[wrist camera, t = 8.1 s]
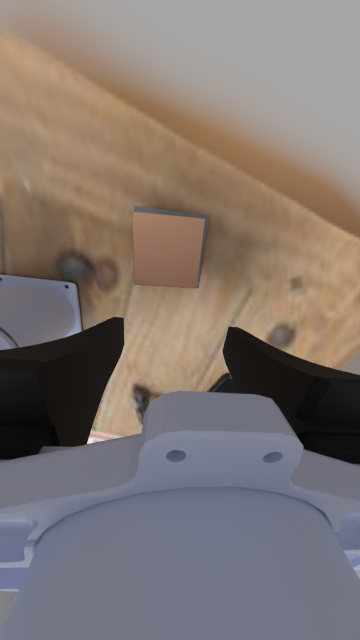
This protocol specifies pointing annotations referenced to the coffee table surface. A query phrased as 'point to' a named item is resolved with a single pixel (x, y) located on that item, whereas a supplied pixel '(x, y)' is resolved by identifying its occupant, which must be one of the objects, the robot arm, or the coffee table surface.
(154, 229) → the terracotta block
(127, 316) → the coffee table surface
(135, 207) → the charcoal slab
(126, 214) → the coffee table surface
